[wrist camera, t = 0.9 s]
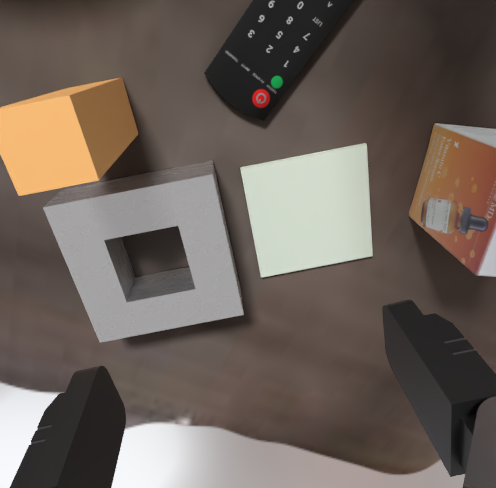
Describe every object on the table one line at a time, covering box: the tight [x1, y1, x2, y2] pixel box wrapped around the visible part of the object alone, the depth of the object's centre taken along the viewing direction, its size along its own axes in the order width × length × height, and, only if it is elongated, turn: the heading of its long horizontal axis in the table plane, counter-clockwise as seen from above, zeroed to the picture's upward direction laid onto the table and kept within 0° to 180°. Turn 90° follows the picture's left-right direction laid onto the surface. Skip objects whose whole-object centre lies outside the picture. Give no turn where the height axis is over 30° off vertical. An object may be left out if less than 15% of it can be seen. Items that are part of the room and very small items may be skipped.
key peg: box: [0, 78, 138, 196], centre depth 25 cm, size 4×4×12 cm
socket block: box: [43, 160, 244, 342], centre depth 33 cm, size 12×12×4 cm
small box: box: [409, 123, 496, 277], centre depth 30 cm, size 8×6×10 cm
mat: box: [240, 143, 373, 278], centre depth 35 cm, size 10×10×1 cm
